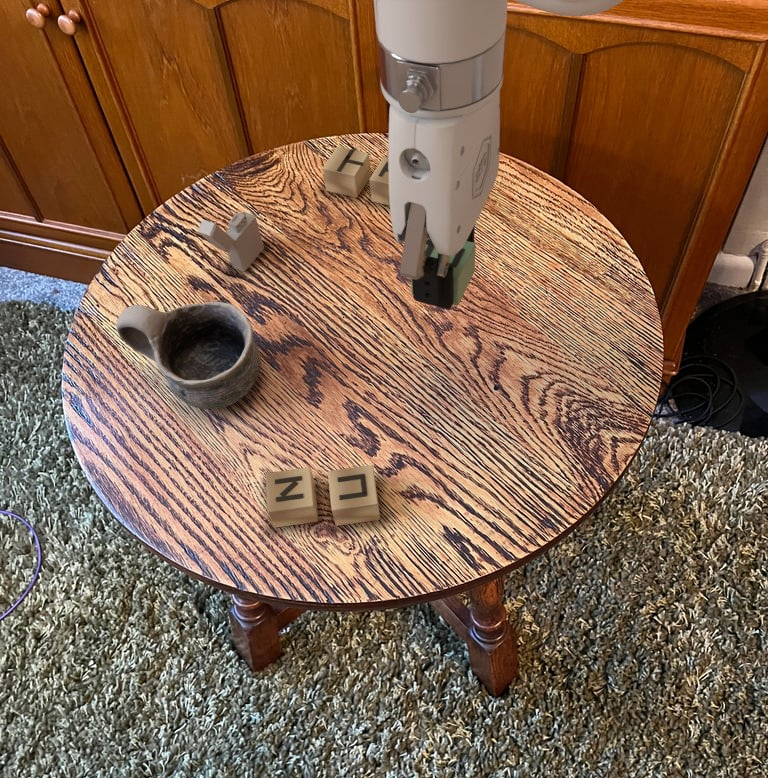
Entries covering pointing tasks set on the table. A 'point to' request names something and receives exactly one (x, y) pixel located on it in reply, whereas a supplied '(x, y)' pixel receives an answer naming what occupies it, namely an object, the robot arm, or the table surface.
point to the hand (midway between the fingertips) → (443, 279)
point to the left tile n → (291, 497)
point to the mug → (196, 350)
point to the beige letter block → (347, 171)
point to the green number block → (458, 268)
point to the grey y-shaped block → (236, 239)
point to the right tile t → (380, 183)
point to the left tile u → (353, 495)
